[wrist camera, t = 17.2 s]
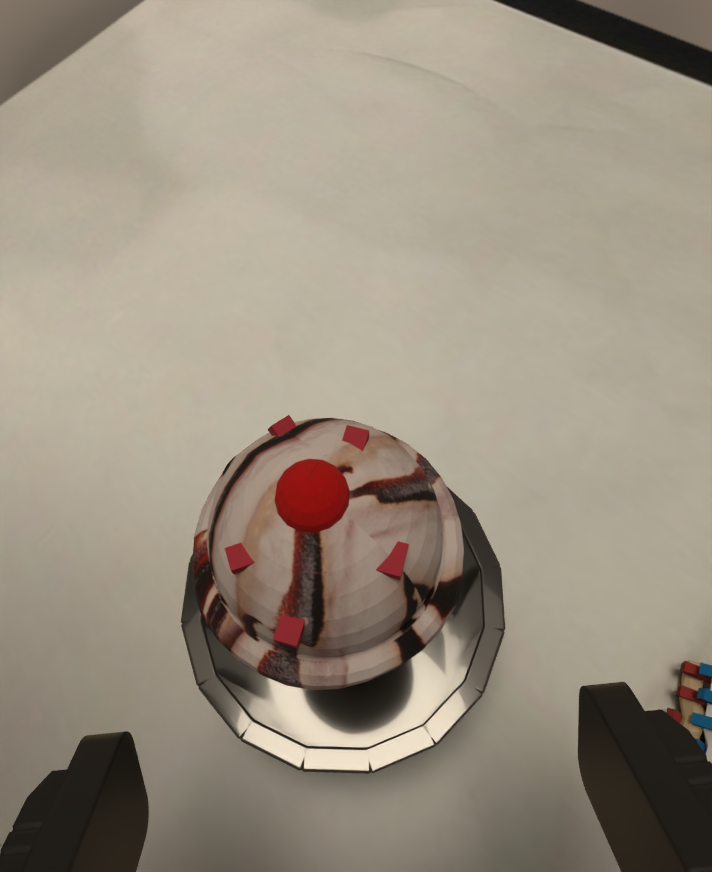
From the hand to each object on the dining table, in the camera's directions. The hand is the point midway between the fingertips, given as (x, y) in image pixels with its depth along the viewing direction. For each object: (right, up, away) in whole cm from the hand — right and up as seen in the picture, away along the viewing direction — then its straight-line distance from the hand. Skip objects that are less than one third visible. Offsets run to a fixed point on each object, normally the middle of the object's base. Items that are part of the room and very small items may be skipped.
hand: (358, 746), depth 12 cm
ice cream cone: (0, -2, +12) cm, 13 cm away
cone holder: (0, -2, +13) cm, 13 cm away
